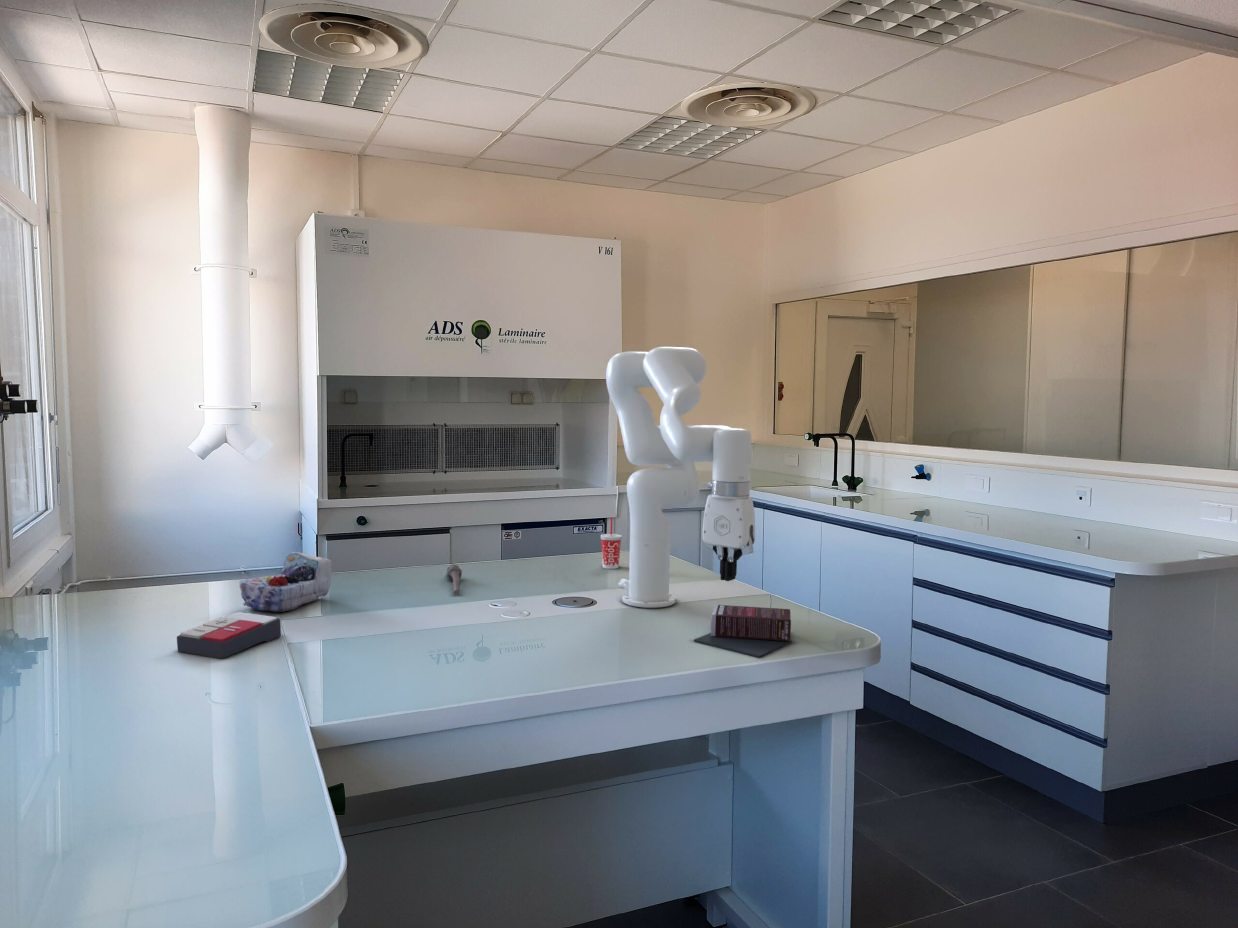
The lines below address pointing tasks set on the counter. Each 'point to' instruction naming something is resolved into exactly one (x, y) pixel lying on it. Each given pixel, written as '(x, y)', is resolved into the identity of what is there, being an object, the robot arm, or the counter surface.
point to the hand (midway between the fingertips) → (727, 579)
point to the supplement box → (751, 622)
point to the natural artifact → (454, 576)
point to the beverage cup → (611, 549)
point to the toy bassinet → (289, 584)
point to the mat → (743, 644)
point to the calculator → (228, 635)
